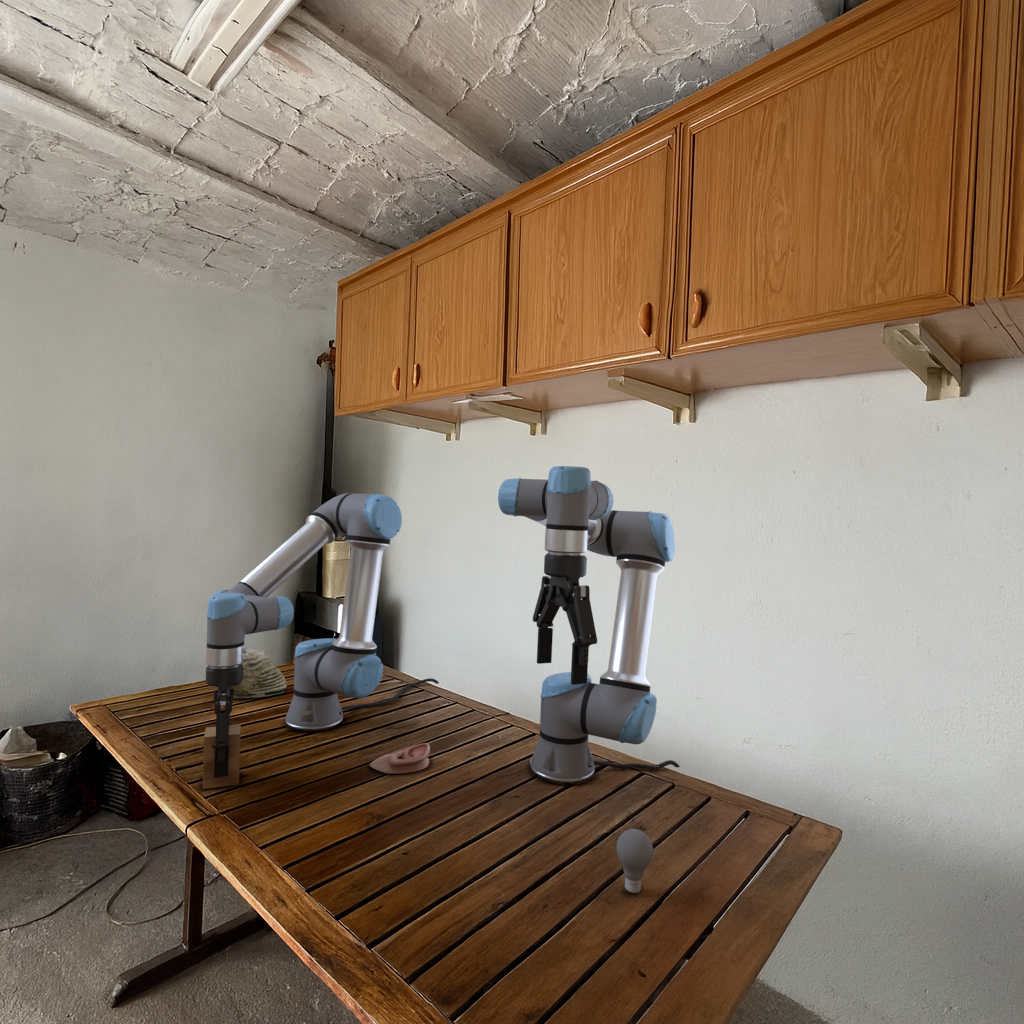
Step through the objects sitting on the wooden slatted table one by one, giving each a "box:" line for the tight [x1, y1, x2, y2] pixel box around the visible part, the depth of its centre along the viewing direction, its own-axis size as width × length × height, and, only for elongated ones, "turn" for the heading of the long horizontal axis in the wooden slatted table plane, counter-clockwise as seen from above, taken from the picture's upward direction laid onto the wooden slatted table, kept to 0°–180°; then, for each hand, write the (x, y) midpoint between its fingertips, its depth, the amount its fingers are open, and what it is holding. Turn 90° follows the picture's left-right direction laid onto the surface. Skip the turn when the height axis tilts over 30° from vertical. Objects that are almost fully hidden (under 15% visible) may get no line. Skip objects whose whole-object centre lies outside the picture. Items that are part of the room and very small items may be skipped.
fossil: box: [231, 646, 288, 699], centre depth 198 cm, size 9×18×15 cm, turn 132°
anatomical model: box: [369, 742, 431, 775], centre depth 151 cm, size 13×4×12 cm
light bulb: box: [615, 828, 654, 894], centre depth 106 cm, size 6×6×10 cm
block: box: [202, 724, 242, 790], centre depth 139 cm, size 7×6×11 cm
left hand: (221, 769), depth 139 cm, fingers closed on block, 6 cm apart
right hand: (560, 672), depth 113 cm, fingers open, 13 cm apart
